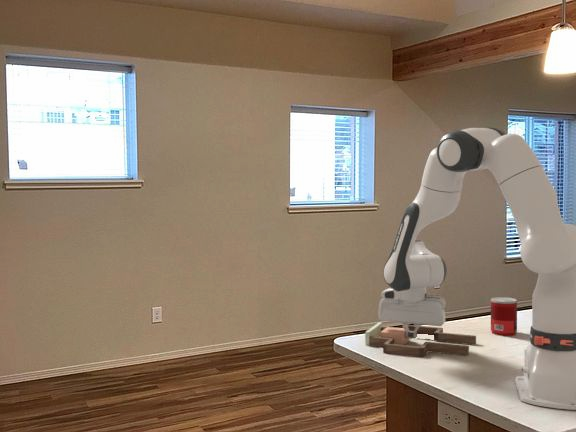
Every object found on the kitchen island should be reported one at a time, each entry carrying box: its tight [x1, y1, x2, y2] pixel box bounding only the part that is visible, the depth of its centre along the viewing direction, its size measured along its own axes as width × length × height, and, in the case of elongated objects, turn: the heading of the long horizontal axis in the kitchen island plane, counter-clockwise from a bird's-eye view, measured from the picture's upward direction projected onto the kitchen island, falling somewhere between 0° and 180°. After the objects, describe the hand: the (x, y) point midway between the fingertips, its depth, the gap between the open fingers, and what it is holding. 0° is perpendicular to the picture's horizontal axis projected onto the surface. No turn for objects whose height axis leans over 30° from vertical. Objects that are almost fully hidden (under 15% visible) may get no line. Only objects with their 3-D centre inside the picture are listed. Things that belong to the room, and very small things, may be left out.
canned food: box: [490, 296, 518, 337], centre depth 201 cm, size 8×8×11 cm
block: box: [380, 326, 410, 345], centre depth 193 cm, size 7×7×4 cm
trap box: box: [364, 321, 477, 358], centre depth 190 cm, size 25×31×4 cm
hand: (411, 337), depth 192 cm, fingers closed
